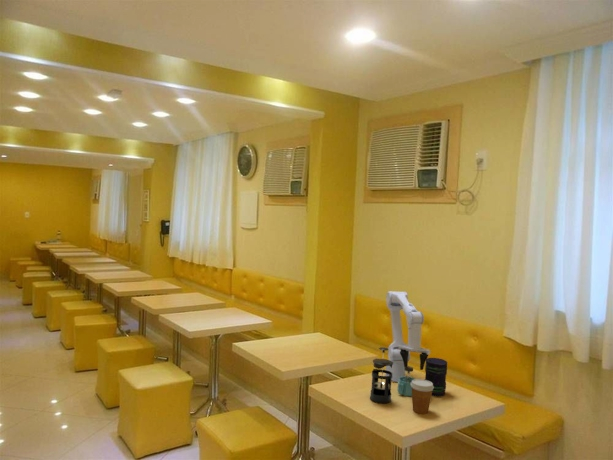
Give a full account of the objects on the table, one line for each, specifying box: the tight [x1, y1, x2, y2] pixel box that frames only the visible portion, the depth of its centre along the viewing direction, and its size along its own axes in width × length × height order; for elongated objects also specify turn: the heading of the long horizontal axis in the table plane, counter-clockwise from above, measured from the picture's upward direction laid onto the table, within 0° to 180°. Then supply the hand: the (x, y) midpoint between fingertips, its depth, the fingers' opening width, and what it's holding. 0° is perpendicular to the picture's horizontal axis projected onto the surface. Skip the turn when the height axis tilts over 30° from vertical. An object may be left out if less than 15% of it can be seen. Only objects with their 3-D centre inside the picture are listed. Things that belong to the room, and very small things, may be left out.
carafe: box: [397, 376, 416, 397], centre depth 212 cm, size 8×10×6 cm
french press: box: [369, 346, 393, 405], centre depth 202 cm, size 12×9×23 cm
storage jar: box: [424, 357, 448, 398], centre depth 214 cm, size 10×10×15 cm
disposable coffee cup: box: [411, 378, 434, 415], centre depth 192 cm, size 10×10×12 cm
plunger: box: [404, 366, 414, 383], centre depth 212 cm, size 6×6×8 cm
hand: (413, 368), depth 210 cm, fingers open, 7 cm apart
